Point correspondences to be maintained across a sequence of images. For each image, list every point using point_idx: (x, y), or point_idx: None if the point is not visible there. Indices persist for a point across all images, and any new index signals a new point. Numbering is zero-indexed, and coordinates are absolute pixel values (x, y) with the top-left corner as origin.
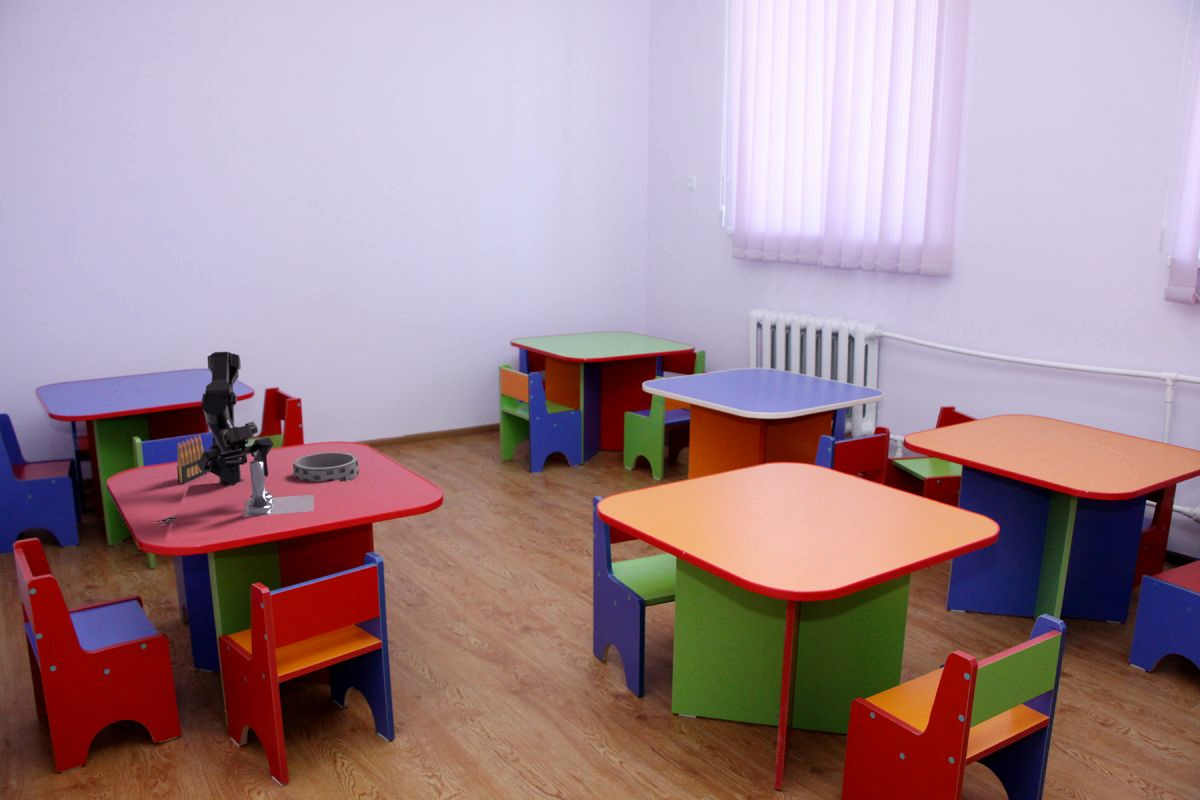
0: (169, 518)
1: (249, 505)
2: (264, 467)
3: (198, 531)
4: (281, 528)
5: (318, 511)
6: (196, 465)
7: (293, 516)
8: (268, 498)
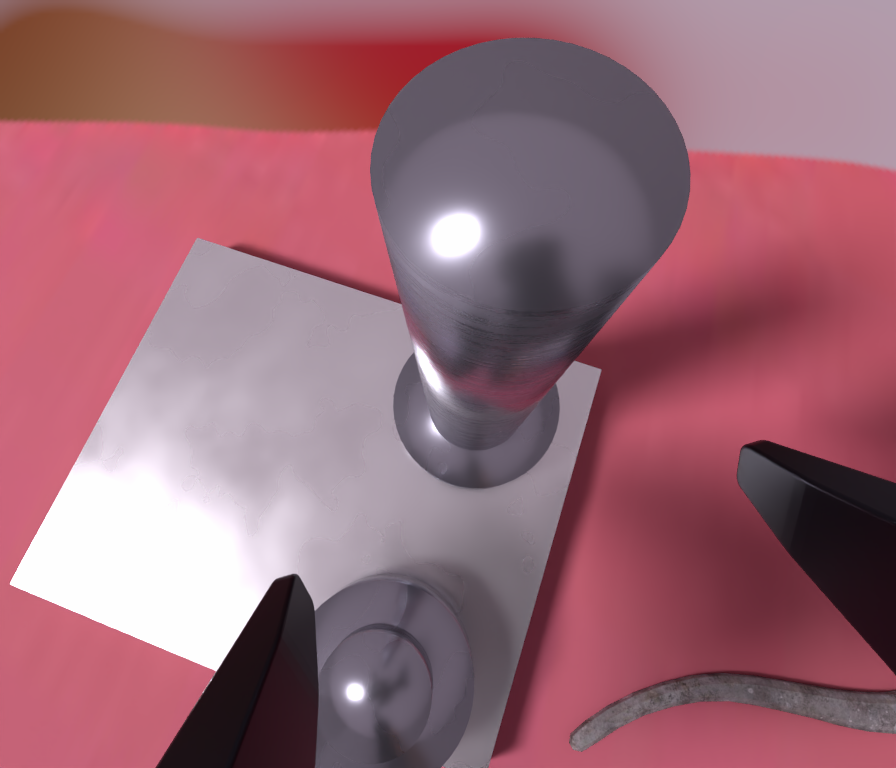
0: None
1: (540, 457)
2: (260, 679)
3: (860, 355)
4: None
5: (158, 302)
6: None
7: None
8: (354, 584)
